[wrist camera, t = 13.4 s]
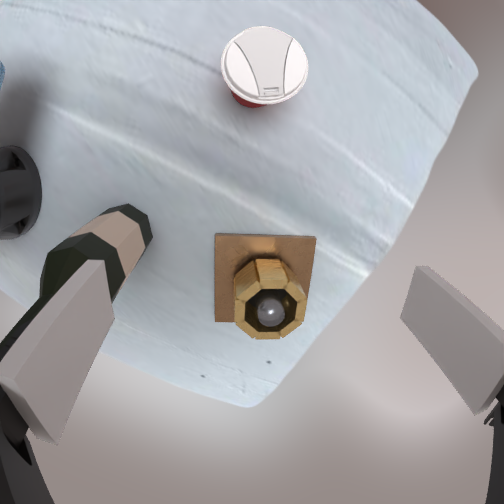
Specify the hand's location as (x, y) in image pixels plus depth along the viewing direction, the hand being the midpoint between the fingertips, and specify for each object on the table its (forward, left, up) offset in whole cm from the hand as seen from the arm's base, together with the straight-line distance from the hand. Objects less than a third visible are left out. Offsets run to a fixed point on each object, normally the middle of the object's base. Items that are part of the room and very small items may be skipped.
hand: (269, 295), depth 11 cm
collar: (+4, -14, -26) cm, 30 cm away
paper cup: (+1, +13, -29) cm, 32 cm away
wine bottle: (-16, -7, -29) cm, 34 cm away
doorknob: (+4, -14, -29) cm, 32 cm away
